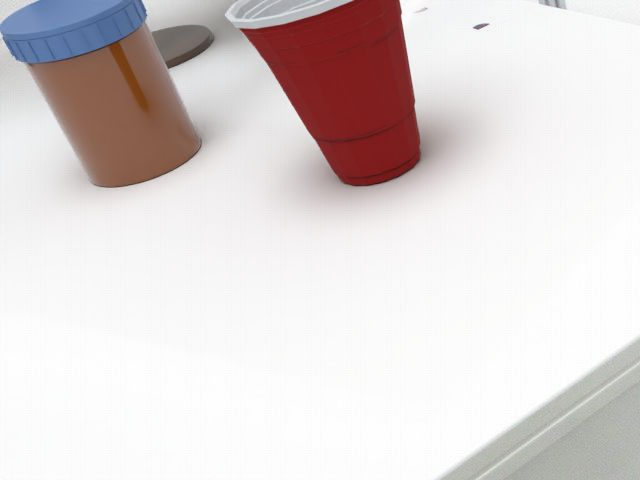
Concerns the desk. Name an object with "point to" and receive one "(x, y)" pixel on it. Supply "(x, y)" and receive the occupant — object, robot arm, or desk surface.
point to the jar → (119, 110)
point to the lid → (69, 27)
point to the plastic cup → (342, 78)
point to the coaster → (181, 42)
